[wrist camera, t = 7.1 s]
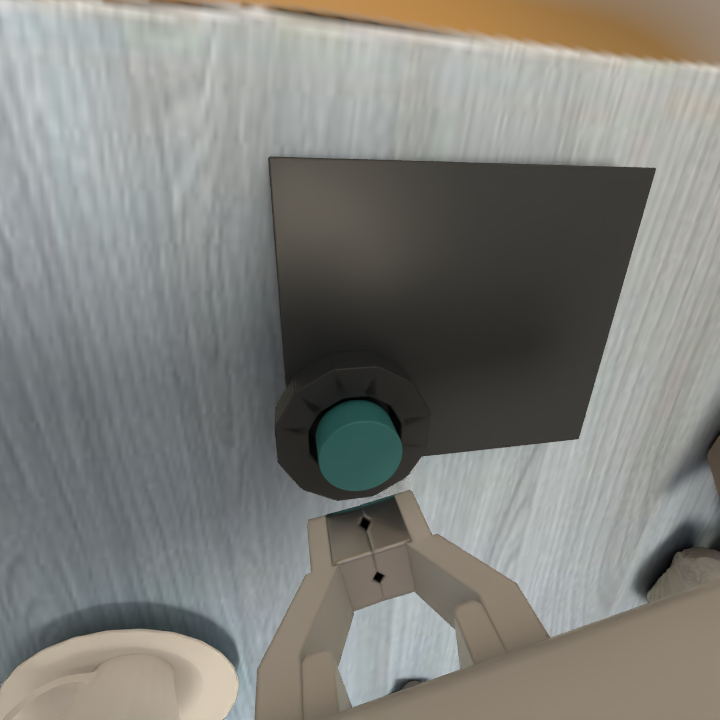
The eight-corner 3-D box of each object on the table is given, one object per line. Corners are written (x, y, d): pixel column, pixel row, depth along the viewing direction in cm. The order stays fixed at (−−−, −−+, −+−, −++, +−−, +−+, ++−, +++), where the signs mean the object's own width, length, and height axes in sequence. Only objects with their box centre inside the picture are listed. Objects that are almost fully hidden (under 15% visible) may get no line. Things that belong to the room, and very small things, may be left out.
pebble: (677, 515, 29) (624, 527, 28) (826, 583, 21) (761, 604, 20) (677, 617, 30) (625, 633, 29) (820, 720, 22) (757, 747, 21)
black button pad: (282, 453, 18) (282, 508, 15) (257, 161, 13) (248, 149, 10) (552, 426, 20) (601, 467, 17) (616, 171, 16) (700, 164, 12)
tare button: (316, 468, 15) (320, 496, 13) (313, 402, 14) (317, 425, 12) (390, 460, 15) (400, 486, 14) (393, 395, 14) (405, 417, 13)
